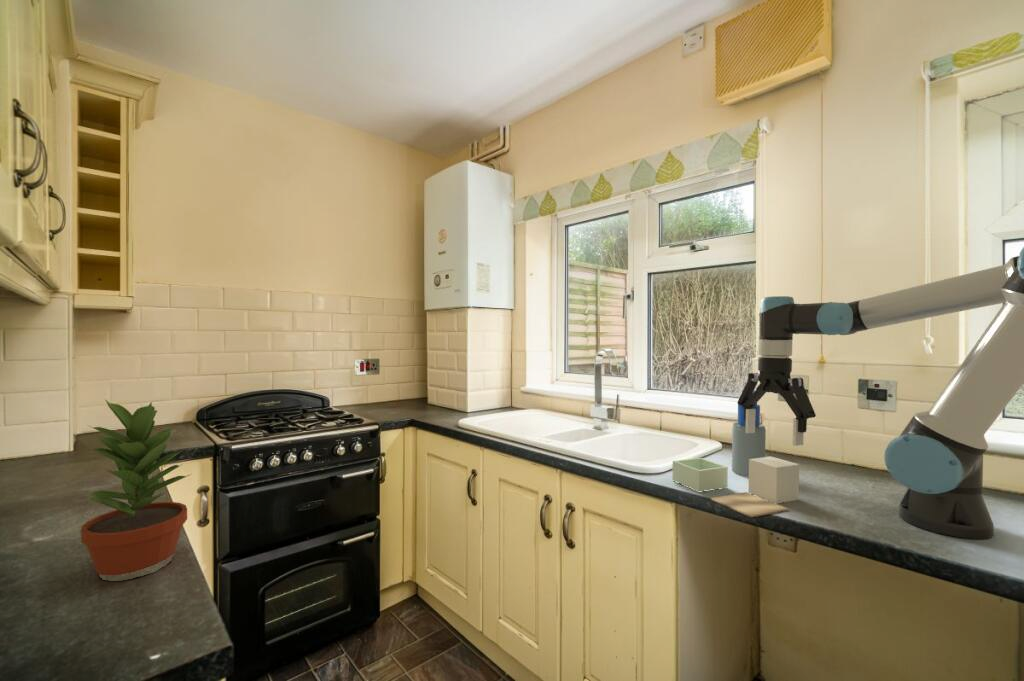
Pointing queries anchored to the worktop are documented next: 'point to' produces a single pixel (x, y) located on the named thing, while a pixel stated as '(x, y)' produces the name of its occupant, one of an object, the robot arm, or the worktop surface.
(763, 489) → the block
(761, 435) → the spray bottle
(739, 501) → the mat
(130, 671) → the worktop surface
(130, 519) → the potted plant
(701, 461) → the tub
